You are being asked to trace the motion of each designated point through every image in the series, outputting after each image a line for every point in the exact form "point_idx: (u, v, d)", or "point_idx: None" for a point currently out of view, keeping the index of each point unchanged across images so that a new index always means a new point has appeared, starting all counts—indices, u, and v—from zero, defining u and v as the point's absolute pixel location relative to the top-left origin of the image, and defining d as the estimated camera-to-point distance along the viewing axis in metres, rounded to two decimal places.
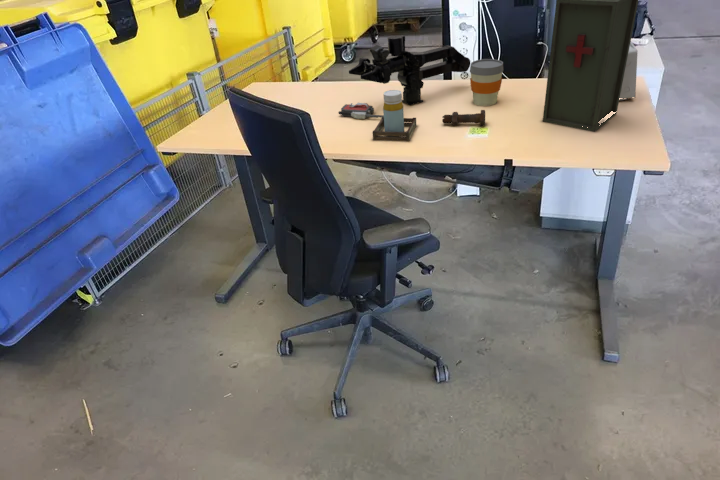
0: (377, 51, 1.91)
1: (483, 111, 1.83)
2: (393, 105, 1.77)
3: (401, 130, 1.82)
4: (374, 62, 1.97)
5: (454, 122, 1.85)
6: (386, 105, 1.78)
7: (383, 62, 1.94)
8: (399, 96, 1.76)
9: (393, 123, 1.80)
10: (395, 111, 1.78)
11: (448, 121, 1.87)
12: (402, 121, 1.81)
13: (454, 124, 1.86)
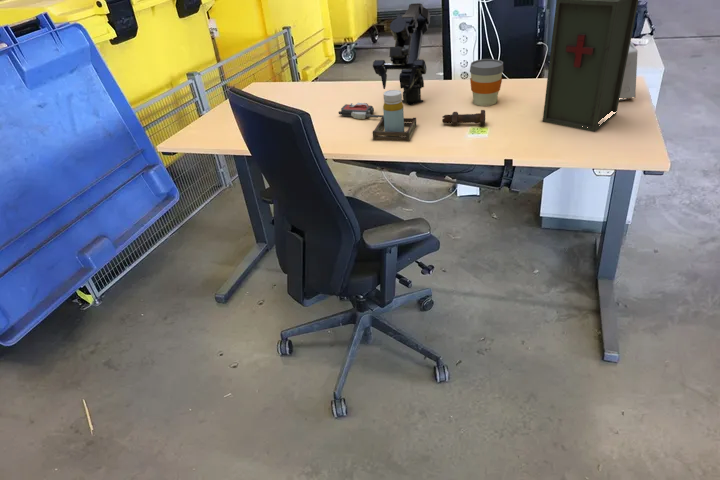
0: (402, 54, 1.79)
1: (483, 111, 1.83)
2: (393, 105, 1.77)
3: (401, 130, 1.82)
4: (395, 60, 1.84)
5: (454, 122, 1.85)
6: (386, 105, 1.78)
7: (407, 56, 1.83)
8: (399, 96, 1.76)
9: (393, 123, 1.80)
10: (395, 111, 1.78)
11: (448, 121, 1.87)
12: (402, 121, 1.81)
13: (454, 124, 1.86)
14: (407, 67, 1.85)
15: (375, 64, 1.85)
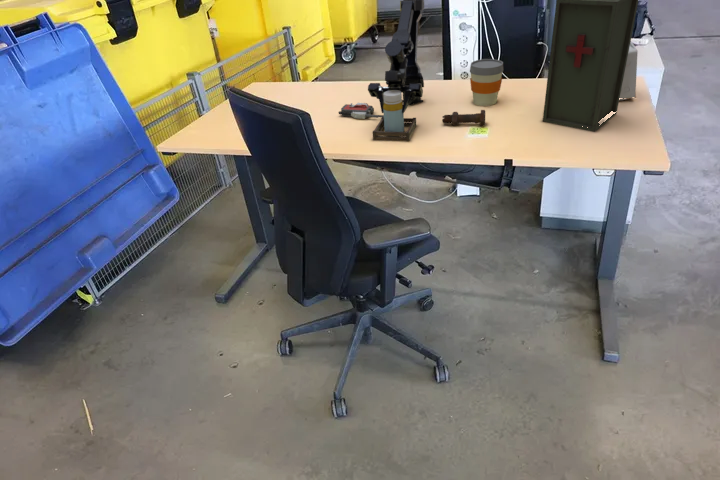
0: (398, 78, 1.74)
1: (483, 111, 1.83)
2: (393, 105, 1.77)
3: (401, 130, 1.82)
4: (391, 84, 1.80)
5: (454, 122, 1.85)
6: (386, 105, 1.78)
7: (402, 79, 1.78)
8: (399, 96, 1.76)
9: (393, 123, 1.80)
10: (395, 111, 1.78)
11: (448, 121, 1.87)
12: (402, 121, 1.81)
13: (454, 124, 1.86)
14: (403, 90, 1.80)
15: (370, 87, 1.80)
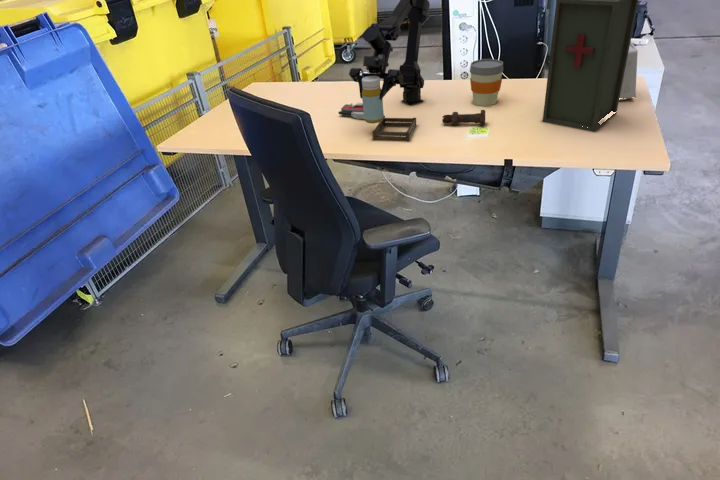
0: (375, 64, 1.73)
1: (483, 111, 1.83)
2: (370, 91, 1.76)
3: (379, 117, 1.82)
4: (371, 69, 1.79)
5: (454, 122, 1.85)
6: (364, 91, 1.78)
7: (382, 65, 1.77)
8: (376, 82, 1.75)
9: (371, 109, 1.80)
10: (372, 97, 1.77)
11: (448, 121, 1.87)
12: (380, 107, 1.80)
13: (454, 124, 1.86)
14: (383, 76, 1.79)
15: (351, 72, 1.81)
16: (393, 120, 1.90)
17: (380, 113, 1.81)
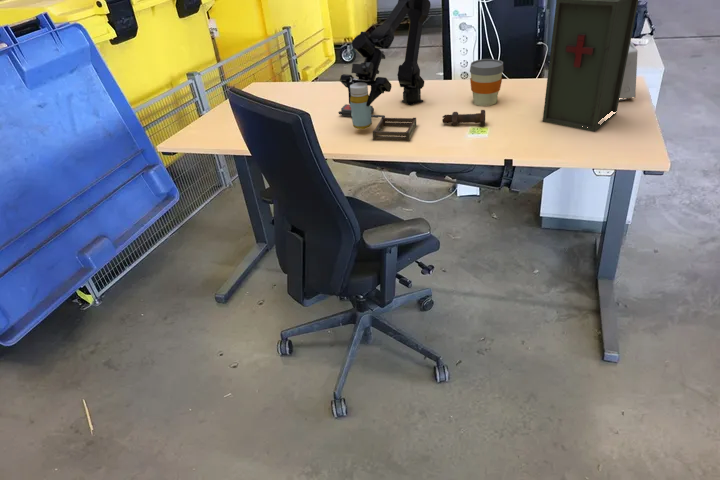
0: (362, 72, 1.77)
1: (483, 111, 1.83)
2: (357, 97, 1.80)
3: (366, 123, 1.85)
4: (360, 76, 1.83)
5: (454, 122, 1.85)
6: (351, 97, 1.82)
7: (371, 72, 1.81)
8: (363, 89, 1.79)
9: (358, 115, 1.83)
10: (359, 104, 1.81)
11: (448, 121, 1.87)
12: (367, 114, 1.84)
13: (454, 124, 1.86)
14: (372, 84, 1.82)
15: (341, 78, 1.85)
16: (393, 120, 1.90)
17: (367, 119, 1.85)
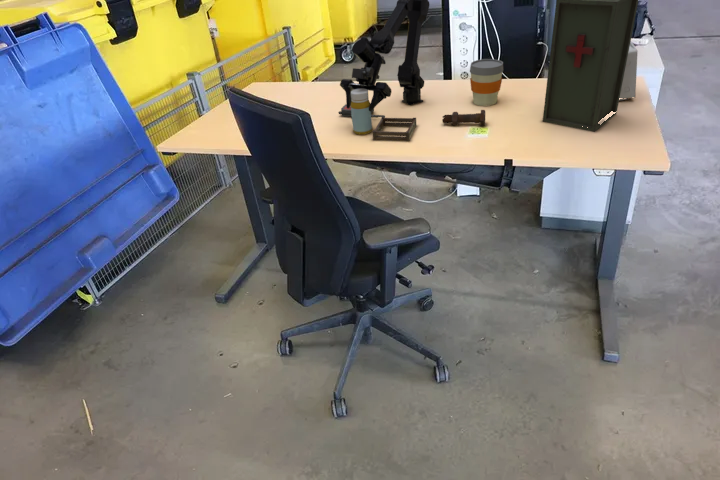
0: (363, 76, 1.78)
1: (483, 111, 1.83)
2: (357, 103, 1.81)
3: (366, 128, 1.86)
4: (360, 81, 1.84)
5: (454, 122, 1.85)
6: (352, 103, 1.83)
7: (371, 77, 1.81)
8: (364, 95, 1.80)
9: (358, 121, 1.85)
10: (359, 109, 1.82)
11: (448, 121, 1.87)
12: (368, 120, 1.85)
13: (454, 124, 1.86)
14: (372, 89, 1.83)
15: (341, 83, 1.86)
16: (393, 120, 1.90)
17: (368, 125, 1.86)
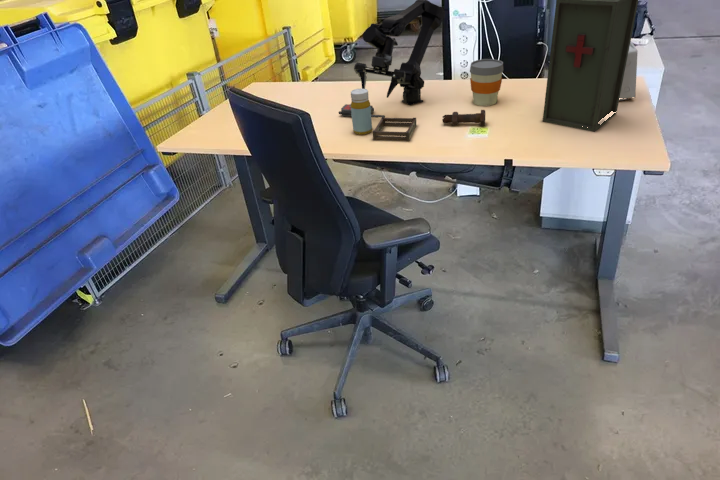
0: (384, 65, 1.83)
1: (483, 111, 1.83)
2: (357, 103, 1.81)
3: (366, 128, 1.86)
4: (376, 67, 1.88)
5: (454, 122, 1.85)
6: (352, 103, 1.83)
7: None
8: (364, 95, 1.80)
9: (358, 121, 1.85)
10: (359, 109, 1.82)
11: (448, 121, 1.87)
12: (368, 120, 1.85)
13: (454, 124, 1.86)
14: (387, 74, 1.89)
15: (356, 68, 1.88)
16: (393, 120, 1.90)
17: (368, 125, 1.86)
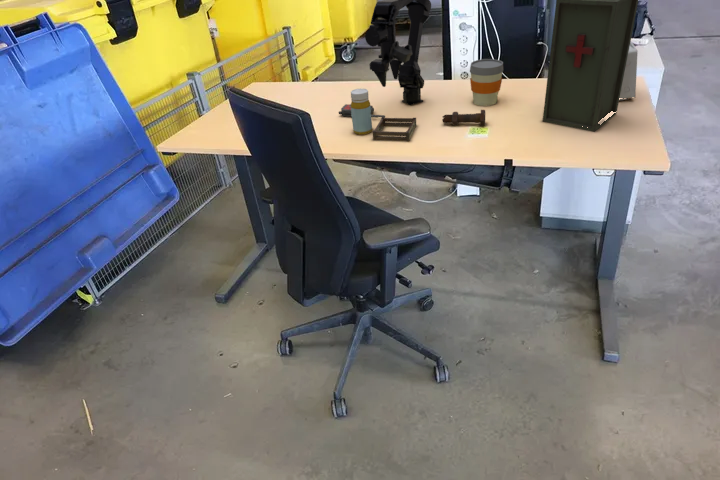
0: None
1: (483, 111, 1.83)
2: (357, 103, 1.81)
3: (366, 128, 1.86)
4: None
5: (454, 122, 1.85)
6: (352, 103, 1.83)
7: None
8: (364, 95, 1.80)
9: (358, 121, 1.85)
10: (359, 109, 1.82)
11: (448, 121, 1.87)
12: (368, 120, 1.85)
13: (454, 124, 1.86)
14: (393, 58, 1.91)
15: (385, 68, 1.82)
16: (393, 120, 1.90)
17: (368, 125, 1.86)
